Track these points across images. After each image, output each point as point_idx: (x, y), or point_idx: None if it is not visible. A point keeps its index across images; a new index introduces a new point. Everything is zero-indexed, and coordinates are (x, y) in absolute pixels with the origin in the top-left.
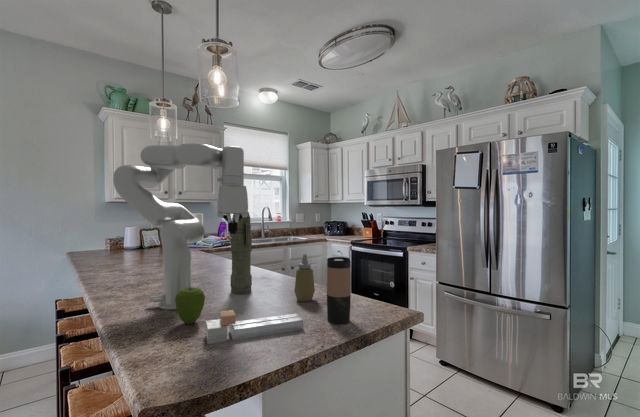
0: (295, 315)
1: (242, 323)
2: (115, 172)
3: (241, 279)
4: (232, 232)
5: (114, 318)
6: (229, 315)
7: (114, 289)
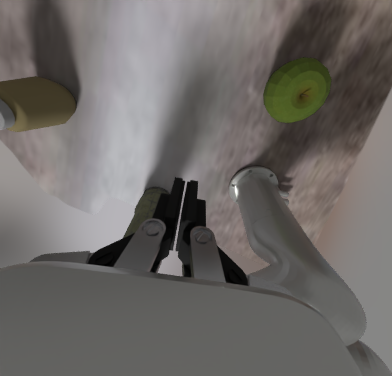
0: None
1: None
2: None
3: (155, 201)
4: (189, 183)
5: (334, 174)
6: None
7: None
